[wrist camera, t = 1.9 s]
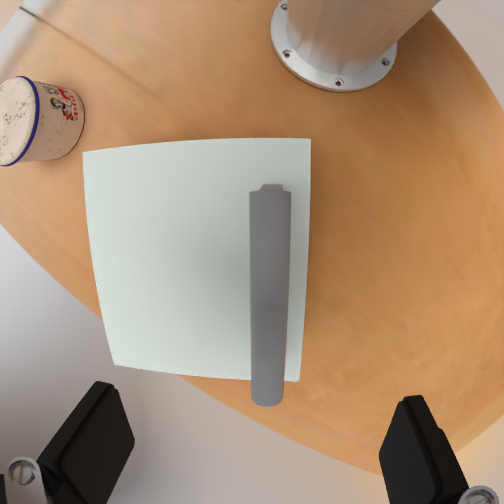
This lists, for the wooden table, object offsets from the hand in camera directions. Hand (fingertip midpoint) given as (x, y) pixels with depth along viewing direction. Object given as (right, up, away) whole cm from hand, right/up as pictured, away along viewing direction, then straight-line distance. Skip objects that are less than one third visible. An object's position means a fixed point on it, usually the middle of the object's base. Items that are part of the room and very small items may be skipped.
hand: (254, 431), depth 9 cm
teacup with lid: (-24, +22, +20) cm, 38 cm away
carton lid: (-4, +4, +14) cm, 15 cm away
